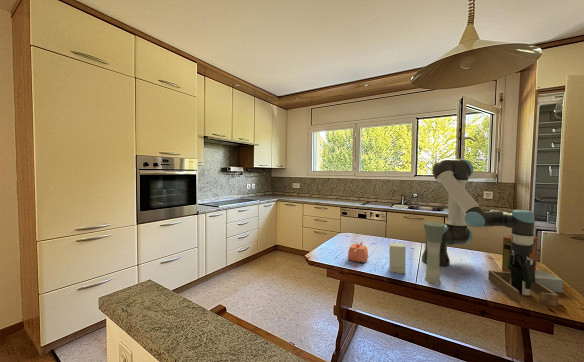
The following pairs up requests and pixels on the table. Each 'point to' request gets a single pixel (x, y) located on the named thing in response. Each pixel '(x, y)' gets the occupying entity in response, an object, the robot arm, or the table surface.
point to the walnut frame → (501, 282)
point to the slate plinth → (549, 281)
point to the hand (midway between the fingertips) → (519, 290)
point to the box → (507, 248)
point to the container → (433, 250)
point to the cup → (516, 277)
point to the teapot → (358, 253)
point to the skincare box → (397, 257)
